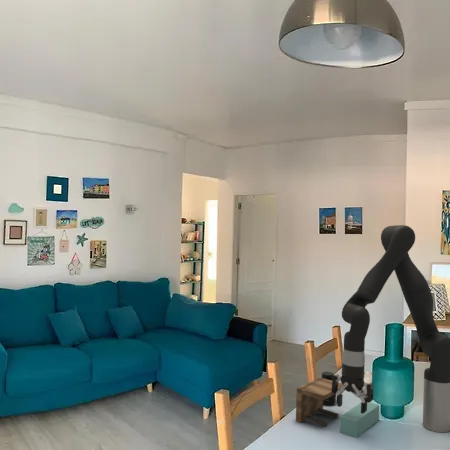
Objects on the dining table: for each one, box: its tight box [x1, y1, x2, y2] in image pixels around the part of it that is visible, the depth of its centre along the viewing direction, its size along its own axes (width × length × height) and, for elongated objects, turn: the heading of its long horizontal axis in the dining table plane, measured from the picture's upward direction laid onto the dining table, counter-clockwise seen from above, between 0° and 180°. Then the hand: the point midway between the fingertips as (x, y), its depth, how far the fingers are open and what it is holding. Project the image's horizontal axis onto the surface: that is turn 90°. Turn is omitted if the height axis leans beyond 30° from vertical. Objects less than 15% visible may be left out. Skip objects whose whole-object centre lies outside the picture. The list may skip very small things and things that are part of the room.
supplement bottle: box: [321, 371, 337, 407], centre depth 190 cm, size 7×7×12 cm
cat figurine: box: [363, 370, 373, 395], centre depth 204 cm, size 10×8×15 cm
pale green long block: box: [339, 402, 380, 438], centre depth 169 cm, size 6×20×6 cm, turn 141°
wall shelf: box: [295, 377, 343, 428], centre depth 175 cm, size 17×11×12 cm, turn 141°
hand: (351, 409), depth 164 cm, fingers open, 8 cm apart
